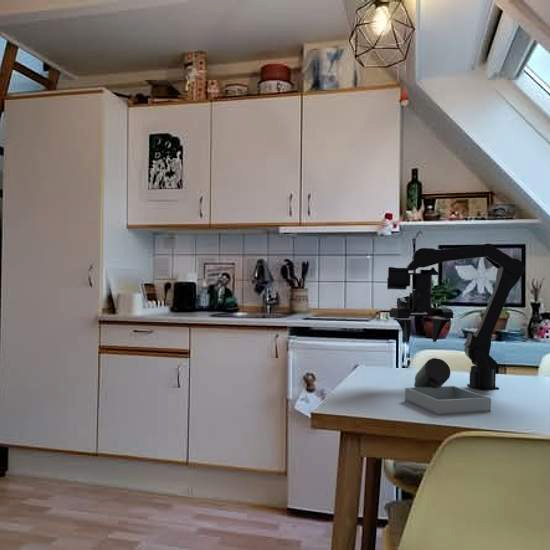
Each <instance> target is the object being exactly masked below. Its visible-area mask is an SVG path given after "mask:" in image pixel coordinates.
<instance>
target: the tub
mask: <svg viewBox="0 0 550 550" xmlns="http://www.w3.org/2000/svg"><path fill="white" fill-rule="evenodd" d="M404 390H405V391H404V392H405V393H404V394H405V395H404V396H405V398H404V401H405V402H406V403H408V404H411V405H412V406H415V407H418V408H420V409H423V410H425V411H427V412H430V413H431V414H434V415H436V416H447V415H458V414H459V415H460V414H462V415H463V414H475V413H486V412H487V411H488V412H492V411H491V409H492V405H491V404H492V398H491V397H489V396H485V395H482V394H481V393H477V392H473V391H472V390H467V389H465V388H462V387H458V386H457V385H442V386H441V387H439V388H431V387H414V386H413V387H405V389H404ZM488 412H487V413H488Z"/></svg>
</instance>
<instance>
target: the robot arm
mask: <svg viewBox="0 0 550 550" xmlns="http://www.w3.org/2000/svg"><path fill="white" fill-rule="evenodd" d="M476 258H477V259H478V258H483V259H485V260H486V261H487V262H489V263H490V264H491V265H492V266H493V267H495V268H496V270H497V271H496V275H495V276H496V277H495V287H494V289H493V291H492V293H491V296H490V299H489V301H488V303H487V306H486V308H485V309H484V314H483V315H482V317H481V319H480V320H481V321H480V323H479V325H478V327H477V329H476V331H475V332H474V333H473V334H472V333H470V332H468V333H467V337H466V341H465V342H464V343H463V344H462V345H463V346H464V349H463V350H464V354H465V356H466V357H467V358H468V359H469V360H470V361H471V364H472V366H470V371H469V383H467V384H466V386H467V387H470V388H473V389H476V390H479V391H491V390H500V387H499V386H496V376H497V375H496V373H497V372H496V371H497V370H496V369H497V365H498V362H497V361H496V360H495V359H494V358H493V357H492V356H491V355H490V353H491V352H490V351H491V347H492V336H493V333H494V331H495V328H496V327H497V324H498V321H499V318H500V316H501V314H502V312H503V309H504V306H505V304H506V302H507V300H508V298H509V295H510V292H511V291H512V290H513V288H514V287H515V286H516V285H517V284H518V282H519V280H520V279H521V278H522V276H523V275H524V272H525V264H524V263H523V262H522V261H521V259H518V258H512V257H511V256H510V255H508V254H507V253H505V252H504V251H502V250H500V249H499V248H497V247H495V245H494V244H491V243H484V244H480V245H471V246H461V247H453V248H452V247H451V248H445V249H443V248H430V247H421V248H418V249H417V250H415V251H414V252H413V254H412V256H411V259H412V260H411V261H410V263H409V264H407V266H406V267H394V266H393V267H392V266H389V267H388V271H387V278H386V279H387V280H386V284H387V285H386V287H387V290H401V291H402V290H403V291H404V290H407V287H411V292H409V295H408V296H409V297H408V298H405V297H398V298H396V307H391V308H390V310H389V315H388V316H389V318H393V321H396V323H398V325H399V326H400V329H401V331H402V334H403V337H404V341H405V342H406V343H410V339H411V328H412V319H409V318H410V317H431V318H430V319H431V322H432V323H431V324H432V342H434V343H436V342H437V340H438V338H439V337H440V335H441V333H442V330H443V329H444V327H445V326H446V324H447V323H448V322H450V319H454V312H453V310H452V308H444V307H443V308H442V307H437V308H435V307H432V305H433V304H432V302H433V301H432V299H433V298H435V293H432V290H433V288H432V287H433V276H439V275H440V273H439V272H438V271H437V270H436V269H435V267H433V266H434V265H437V264H441V263H444V262H451V261H452V262H453V261H461V260H470V259H476ZM431 266H432V267H431ZM428 267H431V268H430V269H423V268H428ZM419 268H421V269H420V270H419V272H412V271H416V270H418V269H419ZM411 277H412V279H411ZM411 281H412V282H411ZM411 285H412V286H411Z"/></svg>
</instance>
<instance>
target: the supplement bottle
mask: <svg viewBox="0 0 550 550" xmlns="http://www.w3.org/2000/svg"><path fill="white" fill-rule="evenodd" d="M450 377H451V367H450V366H449V364H447V362H446V361H445V360H443V359H441V358H438V357H433V358H430V359H428V360H427V361H426V362H425V363H424V364H423V366H421V368H420V369H419V370H418V372H416V374H415V377H414V383H413V384H414V385H413V387H431V388H439V387H441V386H444V384H445V383H446V382H447V381H449V379H450Z"/></svg>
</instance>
